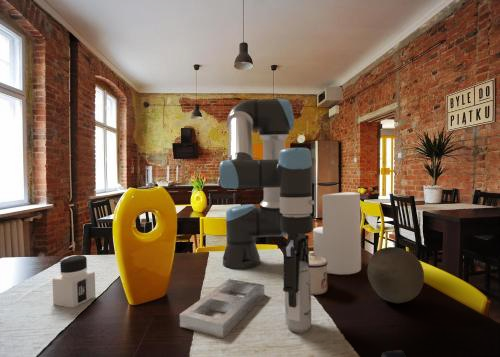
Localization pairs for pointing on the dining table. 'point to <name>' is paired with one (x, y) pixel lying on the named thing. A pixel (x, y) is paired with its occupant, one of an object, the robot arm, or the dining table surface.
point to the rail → (222, 308)
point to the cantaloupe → (395, 274)
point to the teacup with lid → (318, 273)
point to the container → (73, 282)
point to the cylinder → (340, 233)
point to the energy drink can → (301, 301)
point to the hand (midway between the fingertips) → (298, 312)
